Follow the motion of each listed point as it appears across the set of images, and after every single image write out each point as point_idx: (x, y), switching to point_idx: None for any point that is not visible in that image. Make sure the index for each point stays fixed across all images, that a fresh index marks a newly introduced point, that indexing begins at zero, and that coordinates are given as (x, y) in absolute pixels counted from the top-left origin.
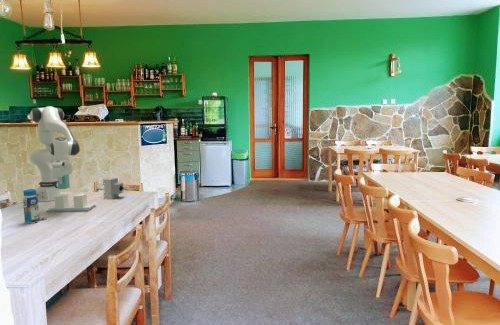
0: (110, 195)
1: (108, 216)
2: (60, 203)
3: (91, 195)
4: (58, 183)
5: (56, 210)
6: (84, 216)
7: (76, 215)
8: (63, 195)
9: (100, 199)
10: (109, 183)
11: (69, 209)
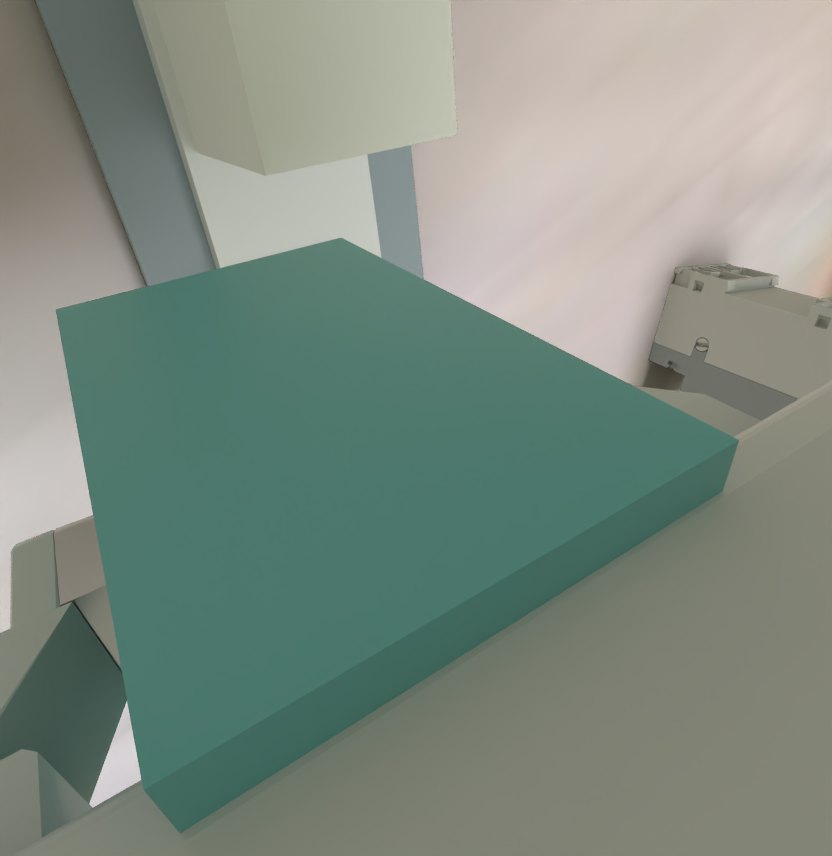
0: (683, 342)
1: (110, 780)
2: (201, 92)
3: (816, 38)
4: (82, 416)
5: (76, 47)
6: (9, 628)
7: (9, 516)
8: (346, 123)
9: (658, 253)
10: (798, 384)
11: (203, 253)
